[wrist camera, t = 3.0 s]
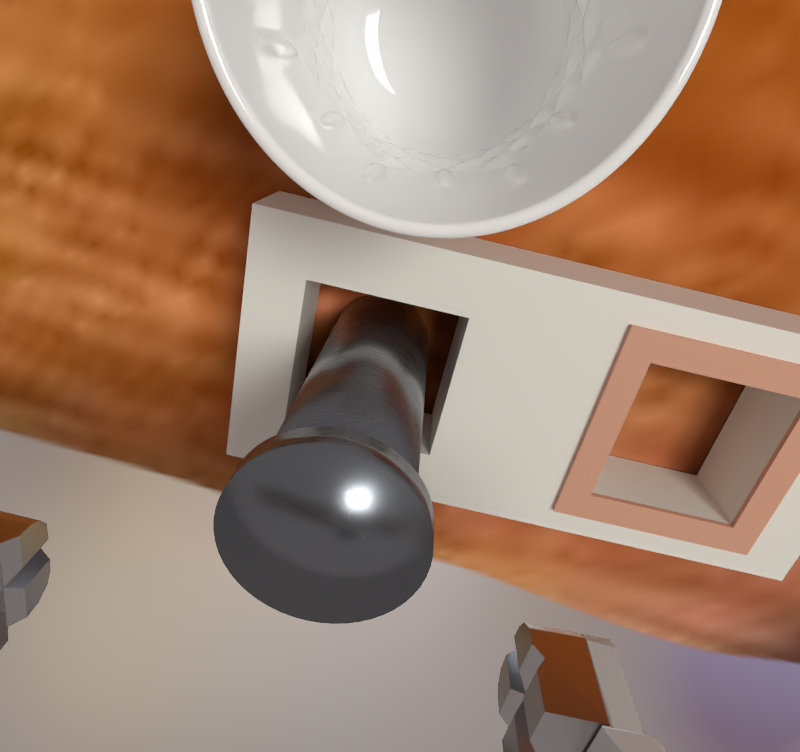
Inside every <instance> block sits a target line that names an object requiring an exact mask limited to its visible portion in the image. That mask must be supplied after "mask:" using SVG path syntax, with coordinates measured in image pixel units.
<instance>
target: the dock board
mask: <svg viewBox="0 0 800 752" xmlns="http://www.w3.org/2000/svg"><path fill="white" fill-rule="evenodd" d="M321 283H323V284H327V285H331V286H335V287H339V288H344V289H348V290H352V291H356V292H361V293H365V294H369V295H373V296H378V297H382V298H386V299H390V300H394V301H399V302H403V303H407V304H411V305H416V306H420V307H424V308H428V309H433V310H437V311H441V312H445V313H450V314H454V315H458V316H459V319H458V322H457V326H456V329H455V333H454V337H453V340H452V344H451V347H450V351H449V354H448V358H447V361H446V365H445V369H444V372H443V376H442V379H441V383H440V386H439V390H438V393H437V397H436V401H435V404H434V408H433V411H432V414H429V413H424V412H423V425H422V438H421V451H420V464H419V476H420V478H421V479H422V481H423V482H424V484H425V486H426V488H427V490H428V493H429V495H430V498H431V501H433V502H438V503H442V504H446V505H451V506H455V507H460V508H464V509H468V510H473V511H477V512H482V513H486V514H490V515H495V516H499V517H503V518H508V519H512V520H517V521H521V522H525V523H530V524H534V525H539V526H543V527H547V528H552V529H556V530H561V531H565V532H569V533H574V534H578V535H583V536H587V537H591V538H596V539H600V540H605V541H609V542H613V543H618V544H622V545H627V546H631V547H635V548H640V549H644V550H649V551H653V552H657V553H662V554H666V555H670V556H675V557H679V558H684V559H688V560H692V561H697V562H701V563H706V564H710V565H714V566H719V567H723V568H728V569H732V570H736V571H741V572H745V573H750V574H754V575H758V576H763V577H767V578H772V579H776V580H780V581H782V580H783V578H784V577H785V576H786V574H787V573H788V571H789V570H790V568H791V567H792V565H793V564H794V563H795V561H796V560H797V558H798V557H799V555H800V316H799V315H795V314H791V313H786V312H782V311H778V310H774V309H770V308H766V307H761V306H757V305H753V304H749V303H745V302H741V301H736V300H732V299H728V298H724V297H720V296H716V295H711V294H707V293H703V292H699V291H695V290H691V289H686V288H682V287H678V286H674V285H670V284H666V283H661V282H657V281H653V280H649V279H645V278H641V277H636V276H632V275H628V274H624V273H620V272H616V271H611V270H607V269H603V268H599V267H595V266H591V265H586V264H582V263H578V262H574V261H570V260H566V259H561V258H557V257H553V256H549V255H545V254H541V253H536V252H532V251H528V250H524V249H520V248H516V247H511V246H507V245H503V244H499V243H495V242H491V241H486V240H482V239H478V238H474V237H467V238H424V237H415V236H409V235H403V234H398V233H394V232H390V231H386V230H382V229H379V228H376V227H373V226H370V225H367V224H365V223H362V222H360V221H357V220H355V219H353V218H351V217H348V216H346V215H344V214H342V213H340V212H338V211H337V210H335V209H333V208H331V207H330V206H328V205H326V204H325V203H323V202H321V201H320V200H316V199H311V198H307V197H303V196H299V195H295V194H291V193H286V192H282V191H278V192H276V193H274V194H272V195H269V196H267V197H265V198H263V199H261V200H258V201H256V202H254V203H252V212H251V222H250V231H249V241H248V250H247V260H246V270H245V279H244V289H243V298H242V308H241V318H240V327H239V337H238V347H237V356H236V366H235V375H234V385H233V395H232V404H231V414H230V423H229V433H228V443H227V452H226V454H227V455H231V456H235V457H240V458H244V457H245V456H246V455H247V454H248V453H249V452H250V451H251V450H252V449H254V448H255V447H256V446H257V445H259V444H260V443H262V442H263V441H265V440H267V439H269V438H271V437H273V436H275V435H277V433H278V431H279V429H280V427H281V425H282V423H283V422H284V420H285V418H286V416H287V414H288V412H289V410H290V408H291V407H292V405H293V403H294V401H295V399H296V397H297V395H298V393H299V391H300V390H301V388H302V386H303V384H304V382H305V376H306V370H307V364H308V358H309V352H310V346H311V340H312V334H313V328H314V322H315V315H316V309H317V303H318V297H319V291H320V285H321ZM651 363H653V364H657V365H661V366H665V367H669V368H674V369H678V370H682V371H686V372H691V373H695V374H699V375H703V376H708V377H712V378H716V379H720V380H725V381H729V382H733V383H737V384H741V385H746V386H745V388H744V390H743V391H742V393H741V395H740V397H739V399H738V401H737V402H736V404H735V406H734V408H733V410H732V412H731V413H730V415H729V417H728V419H727V421H726V423H725V424H724V426H723V428H722V430H721V432H720V434H719V435H718V437H717V439H716V441H715V443H714V445H713V446H712V448H711V450H710V452H709V454H708V456H707V458H706V459H705V461H704V463H703V465H702V467H701V469H700V470H699V472H698V474H697V475H692V474H688V473H684V472H679V471H675V470H671V469H666V468H662V467H658V466H653V465H649V464H645V463H640V462H636V461H632V460H628V459H623V458H619V457H615V456H610V455H609V454H610V452H611V449H612V447H613V445H614V443H615V441H616V438H617V436H618V434H619V432H620V430H621V427H622V425H623V423H624V421H625V419H626V416H627V414H628V412H629V410H630V408H631V405H632V403H633V401H634V399H635V397H636V394H637V392H638V390H639V388H640V386H641V383H642V381H643V379H644V377H645V375H646V372H647V370H648V368H649V366H650V364H651Z"/></svg>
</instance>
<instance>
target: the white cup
mask: <svg viewBox="0 0 800 752" xmlns="http://www.w3.org/2000/svg"><path fill="white" fill-rule="evenodd" d="M191 1H192V6H193V10H194V14H195V18H196V21H197V25H198V28H199V32H200V35H201V38H202V41H203V44H204V47H205V50H206V52H207V55H208V58H209V60H210V63H211V65H212V68H213V70H214V72H215V74H216V77H217V79H218V81H219V83H220V85H221V87H222V89H223V91H224V93H225V95H226V97H227V98H228V100H229V102H230V104H231V105H232V107H233V109H234V111H235V112H236V114H237V115H238V117H239V118H240V120H241V122H242V123H243V124H244V126H245V127H246V129H247V130H248V132H249V133H250V134H251V136H252V137H253V138H254V140H255V141H256V142H257V143H258V145H259V146H260V147H261V148H262V149H263V151H264V152H265V153H266V154H267V155H268V156H269V157H270V159H271V160H272V161H273V162H274V163H275V164H276V165H277V166H278V167H279V168H280V169H281V170H282V171H283V172H284V173H285V174H287V175H288V176H289V177H290V178H291V179H292V180H293V181H294V182H296V183H297V184H298V185H299V186H301V187H302V188H303V189H304V190H306V191H307V192H308V193H310V194H311V195H313V196H314V197H315V198H317V199H318V200H320V201H321V202H323V203H325V204H326V205H328V206H330V207H331V208H333V209H335V210H337V211H338V212H340V213H342V214H344V215H346V216H348V217H351V218H353V219H355V220H357V221H360V222H362V223H365V224H367V225H370V226H373V227H376V228H379V229H382V230H386V231H390V232H394V233H398V234H403V235H409V236H415V237H424V238H467V237H475V236H482V235H488V234H493V233H497V232H501V231H505V230H509V229H512V228H516V227H519V226H522V225H525V224H527V223H530V222H532V221H535V220H537V219H540V218H542V217H544V216H546V215H549V214H551V213H553V212H555V211H557V210H559V209H560V208H562V207H564V206H566V205H568V204H569V203H571V202H573V201H574V200H576V199H578V198H579V197H581V196H582V195H584V194H585V193H587V192H588V191H590V190H591V189H592V188H594V187H595V186H596V185H598V184H599V183H600V182H602V181H603V180H604V179H605V178H607V177H608V176H609V175H610V174H611V173H613V172H614V171H615V170H616V169H617V168H618V167H619V166H620V165H622V164H623V163H624V162H625V161H626V160H627V159H628V158H629V157H630V156H631V155H632V154H633V153H634V152H635V151H636V150H637V149H638V148H639V146H640V145H641V144H642V143H643V142H644V141H645V140H646V139H647V137H648V136H649V135H650V134H651V133H652V131H653V130H654V129H655V128H656V126H657V125H658V124H659V123H660V121H661V120H662V119H663V117H664V116H665V115H666V113H667V112H668V110H669V109H670V107H671V106H672V105H673V103H674V102H675V100H676V98H677V97H678V95H679V94H680V92H681V91H682V89H683V87H684V86H685V84H686V82H687V80H688V79H689V77H690V75H691V73H692V71H693V69H694V68H695V66H696V64H697V62H698V60H699V58H700V56H701V53H702V51H703V49H704V47H705V45H706V42H707V40H708V38H709V35H710V33H711V30H712V28H713V25H714V23H715V20H716V17H717V15H718V12H719V9H720V6H721V3H722V0H191Z"/></svg>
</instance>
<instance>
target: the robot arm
mask: <svg viewBox="0 0 800 752" xmlns="http://www.w3.org/2000/svg"><path fill="white" fill-rule="evenodd" d="M47 540H48V532H47V524H46V523H44V522H41V521H39V520H35V519H31V518H27V517H22V516H18V515H14V514H10V513H6V512H1V511H0V650H1V648H2V647H3V646H4V645H5V643H6V642H7V641H8V626H10V625H12V624H14V623H16V622H18V621H20V620H22V619H24V618H26V617H27V616H28V615H29V614H30V612H31V611H32V610H33V609H34V607H35V606H36V605H37V603H38V602H39V600H40V598H41V596H42V594H43V592H44V590H45V588H46V586H47V583H48V579H49V574H50V559H49V558H48V557H47V555H46V554H45V553H44V552H43V551H42V549H41V547H42V546H43V544H44V543H45V542H46V541H47ZM515 644H516V650H514V651H512V652H510V653H508V654H507V655H506V657H505V660H504V662H503V665H502V667H501V672H500V678H499V683H498V702H499V713H500V715H501V716H502V718H503V719H504V721H505V722H506V724H507V725H508V729H507V731H506V734H505V736H504V738H503V740H502V743H503V751H504V752H667V751H666V750H665V749H664V748H663V746H662V745H661V744H660V743H659V742H658V741H657V739H656V738H655V737H654V736H651V735H647V734H645V733H644V731H643V728H642V725H641V722H640V719H639V716H638V713H637V710H636V707H635V704H634V701H633V699H632V695H631V692H630V690H629V687H628V684H627V681H626V678H625V675H624V672H623V669H622V666H621V663H620V660H619V657H618V654H617V652H616V649H615V646H614V644H613V643H612V642H611V641H610V640H608V639H604V638H599V637H594V636H589V635H584V634H578V633H575V632H570V631H565V630H560V629H555V628H550V627H545V626H540V625H535V624H530V623H525V622H524V623H523V624H522V625H521V626H520V627H519V628H518V631H517V633H516V635H515Z"/></svg>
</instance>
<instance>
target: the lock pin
mask: <svg viewBox="0 0 800 752" xmlns="http://www.w3.org/2000/svg"><path fill="white" fill-rule="evenodd" d="M428 347H429V335H428V330H427V326H426V324H425V321H424V320H423V318H422V316H421V315H420V313H419V312H418V311H417V310H416V309H415V308H414V307H413V306H412V305H411V304H407V303H403V302H399V301H394V300H390V299H386V298H382V297H378V296H373V295H367V296H364V297H361V298H359V299H357V300H355V301H354V302H352V303H351V304H349V305H348V306H347V307H346V308H345V309H344V311H343V312H342V313H341V315H340V316H339V318H338V320H337V322H336V324H335V326H334V328H333V329H332V331H331V333H330V335H329V337H328V339H327V341H326V343H325V344H324V346H323V348H322V350H321V352H320V354H319V356H318V358H317V359H316V361H315V363H314V365H313V367H312V369H311V371H310V373H309V375H308V376H307V378H306V380H305V382H304V384H303V386H302V388H301V390H300V391H299V393H298V395H297V397H296V399H295V401H294V403H293V405H292V407H291V408H290V410H289V412H288V414H287V416H286V418H285V420H284V422H283V423H282V425H281V427H280V429H279V431H278V433H277V435H275V436H273V437H271V438H269V439H267V440H265V441H263V442H262V443H260V444H259V445H257V446H256V447H255V448H254V449H252V450H251V451H250V452H249V453H248V454H247V455H246V456H245V457H244V459H243V460H242V461H241V462H240V463H239V465H238V467H237V469H236V470H235V472H234V474H233V475H232V477H231V479H230V480H229V482H228V484H227V485H226V487H225V489H224V491H223V492H222V494H221V496H220V498H219V500H218V503H217V506H216V510H215V515H214V535H215V542H216V545H217V548H218V552H219V554H220V556H221V558H222V560H223V562H224V564H225V566H226V567H227V569H228V570H229V572H230V573H231V575H232V576H233V577H234V578H235V579H236V581H237V582H238V583H239V584H240V585H241V586H242V587H244V589H245V590H247V591H248V592H249V593H250V594H251V595H253V596H254V597H255V598H257V599H258V600H260V601H262V602H263V603H265V604H266V605H268V606H270V607H272V608H274V609H276V610H278V611H280V612H282V613H285V614H288V615H290V616H293V617H296V618H300V619H304V620H308V621H314V622H320V623H332V624H333V623H353V622H360V621H364V620H368V619H373V618H375V617H378V616H381V615H384V614H386V613H388V612H390V611H392V610H394V609H396V608H397V607H399V606H400V605H402V604H403V603H405V602H406V601H407V600H408V599H409V598H410V597H411V596H413V594H414V593H415V592H416V591H417V590H418V588H420V586H421V585H422V583H423V581H424V580H425V578H426V576H427V574H428V571H429V569H430V566H431V562H432V557H433V542H434V512H433V505H432V502H431V498H430V495H429V493H428V490H427V488H426V486H425V484H424V482H423V481H422V479H421V478H420V476H419V464H420V451H421V438H422V425H423V412H424V399H425V386H426V373H427V360H428Z"/></svg>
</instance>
